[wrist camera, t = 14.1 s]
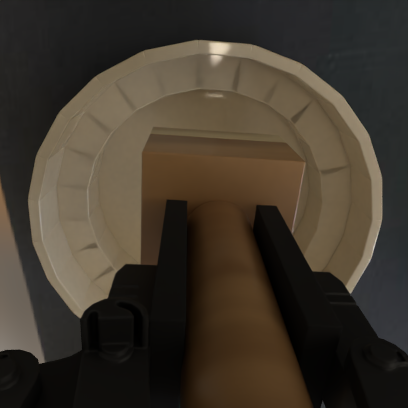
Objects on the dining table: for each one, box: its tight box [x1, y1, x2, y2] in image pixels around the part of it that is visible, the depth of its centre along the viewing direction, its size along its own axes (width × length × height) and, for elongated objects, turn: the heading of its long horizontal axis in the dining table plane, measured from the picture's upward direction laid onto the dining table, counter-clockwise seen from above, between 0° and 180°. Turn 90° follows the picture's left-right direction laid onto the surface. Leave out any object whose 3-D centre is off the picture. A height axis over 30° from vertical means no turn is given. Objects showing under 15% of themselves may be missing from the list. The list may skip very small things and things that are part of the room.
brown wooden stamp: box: [141, 127, 314, 408], centre depth 12 cm, size 6×6×14 cm
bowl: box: [28, 40, 382, 319], centre depth 24 cm, size 19×19×6 cm
